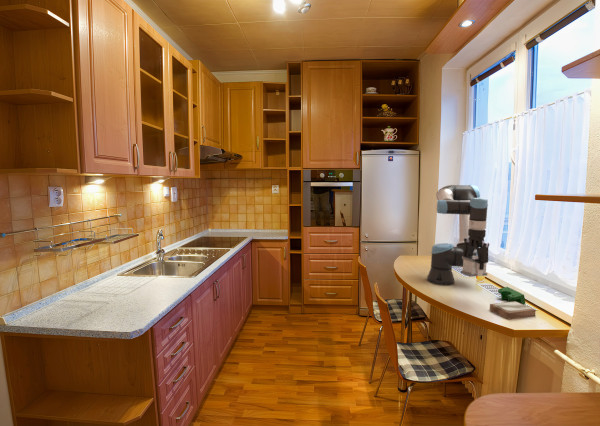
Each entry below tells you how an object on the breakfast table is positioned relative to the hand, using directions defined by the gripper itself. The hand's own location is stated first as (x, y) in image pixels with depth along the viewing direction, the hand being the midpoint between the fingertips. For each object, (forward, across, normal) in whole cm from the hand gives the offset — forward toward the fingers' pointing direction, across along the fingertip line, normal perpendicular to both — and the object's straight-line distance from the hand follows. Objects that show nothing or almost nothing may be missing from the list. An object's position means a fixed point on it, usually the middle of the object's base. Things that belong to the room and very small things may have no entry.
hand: (474, 273), depth 152 cm
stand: (+14, +16, +7) cm, 23 cm away
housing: (0, 0, 0) cm, 0 cm away
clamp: (+15, +5, +19) cm, 24 cm away
